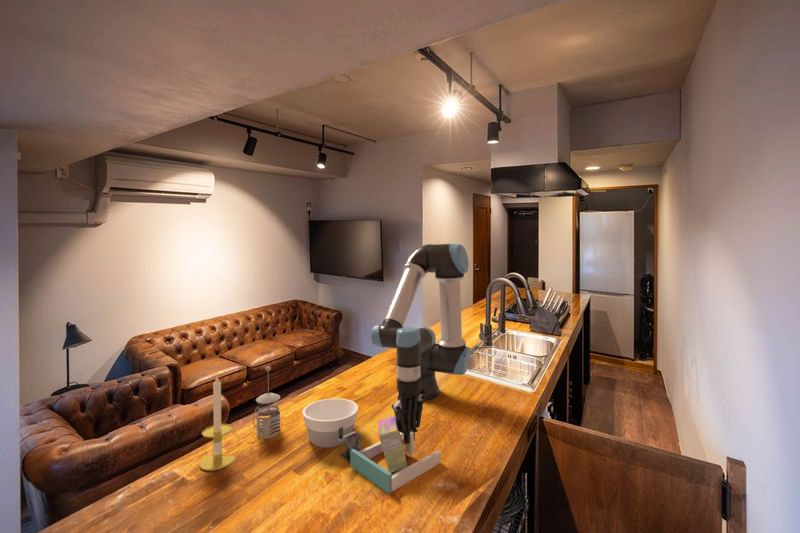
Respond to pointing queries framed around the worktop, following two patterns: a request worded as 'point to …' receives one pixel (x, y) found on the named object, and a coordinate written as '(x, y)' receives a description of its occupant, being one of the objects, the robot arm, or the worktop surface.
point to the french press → (268, 413)
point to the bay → (384, 477)
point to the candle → (216, 435)
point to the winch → (349, 442)
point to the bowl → (329, 420)
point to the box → (392, 444)
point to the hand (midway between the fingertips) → (409, 452)
